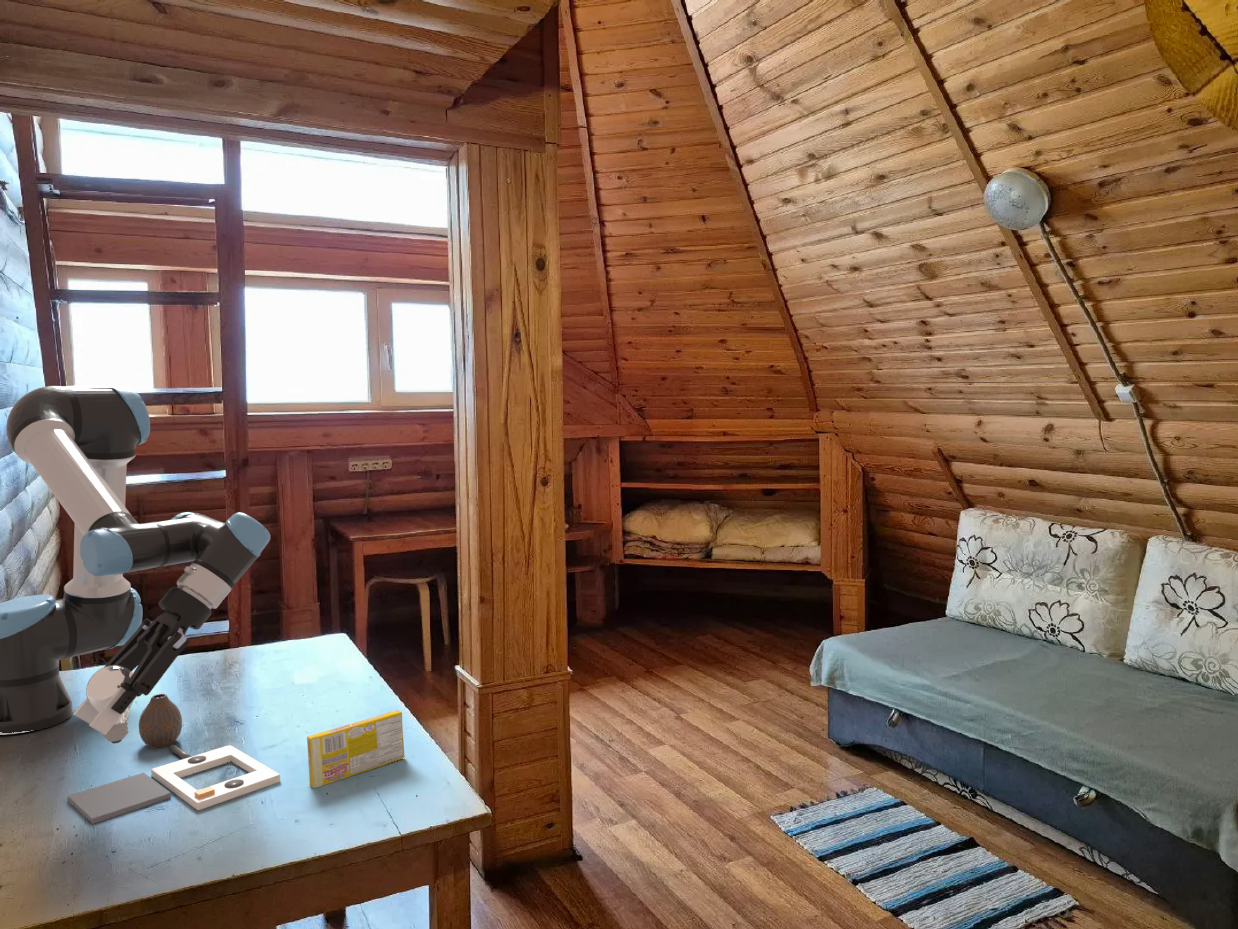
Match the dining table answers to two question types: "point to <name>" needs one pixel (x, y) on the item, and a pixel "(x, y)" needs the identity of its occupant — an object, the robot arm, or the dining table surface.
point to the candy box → (355, 748)
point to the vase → (160, 722)
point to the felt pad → (118, 797)
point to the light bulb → (109, 696)
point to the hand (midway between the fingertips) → (89, 724)
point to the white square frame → (218, 792)
